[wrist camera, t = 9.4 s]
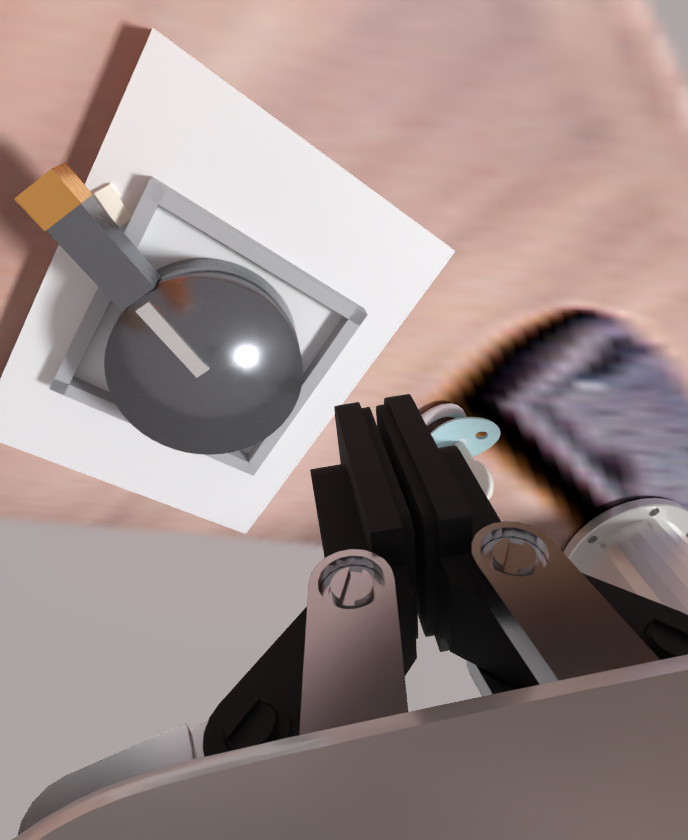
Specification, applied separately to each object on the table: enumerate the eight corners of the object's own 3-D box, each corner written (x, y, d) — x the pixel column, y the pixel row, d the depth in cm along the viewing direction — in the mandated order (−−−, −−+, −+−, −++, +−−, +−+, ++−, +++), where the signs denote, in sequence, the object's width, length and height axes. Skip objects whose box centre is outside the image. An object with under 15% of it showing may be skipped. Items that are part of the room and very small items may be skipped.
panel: (446, 244, 33) (461, 256, 30) (245, 519, 41) (245, 543, 39) (157, 30, 25) (149, 26, 23) (-13, 419, 34) (-31, 443, 32)
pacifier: (380, 463, 41) (445, 488, 43) (397, 519, 36) (471, 545, 38) (433, 384, 38) (500, 415, 40) (460, 432, 33) (537, 465, 35)
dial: (328, 361, 34) (339, 394, 30) (199, 444, 35) (194, 485, 32) (141, 105, 25) (124, 110, 22) (-17, 230, 27) (-57, 253, 24)
